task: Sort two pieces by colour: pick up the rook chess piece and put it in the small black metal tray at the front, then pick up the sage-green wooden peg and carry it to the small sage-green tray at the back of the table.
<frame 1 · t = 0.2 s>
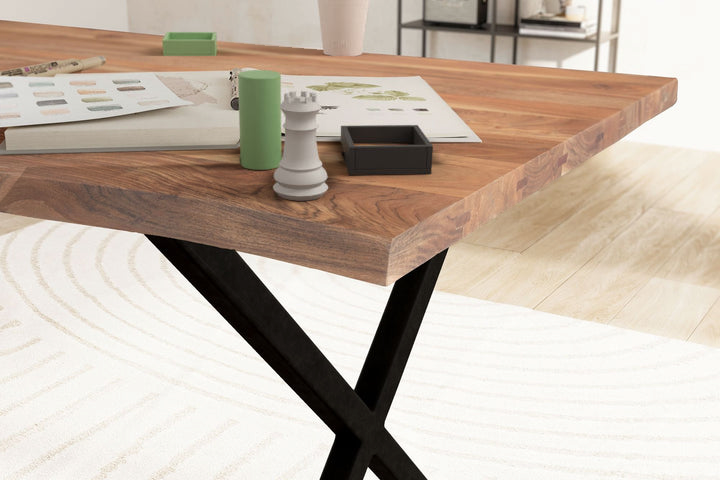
green tray: (191, 53, 127), on the table
green peg: (261, 164, 78), on the table
dark tray: (384, 162, 79), on the table
rook chess piece: (300, 195, 71), on the table
dixie cup: (342, 54, 130), on the table
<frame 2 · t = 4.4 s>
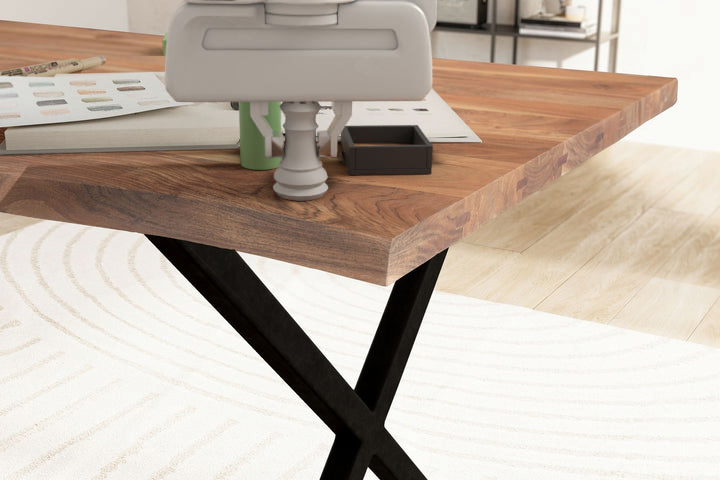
hand: (300, 155, 70), 3 cm above the table, tool pointing down, fingers closed on rook chess piece, 3 cm apart
rook chess piece: (300, 195, 71), on the table, touching gripper
everything else where it was.
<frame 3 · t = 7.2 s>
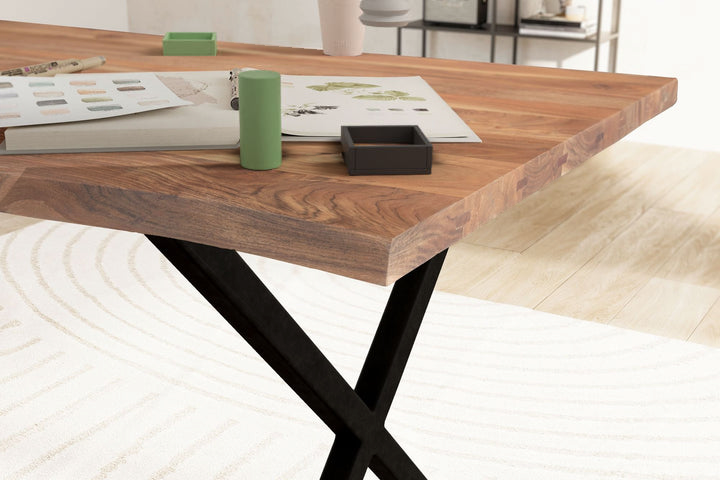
rook chess piece: (384, 26, 74), point 12 cm above the table, touching gripper
everything else where it was.
when the fingers open (3 cm above the table, at t = 10.1 s): rook chess piece stays where it is, resting on dark tray.
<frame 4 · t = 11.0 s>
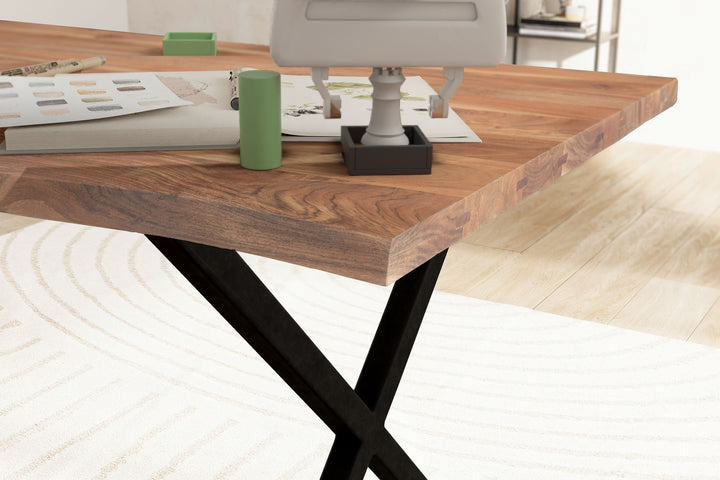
hand: (385, 117, 78), 4 cm above the table, tool pointing down, fingers open, 8 cm apart
rook chess piece: (384, 159, 79), resting on dark tray
everything else where it was.
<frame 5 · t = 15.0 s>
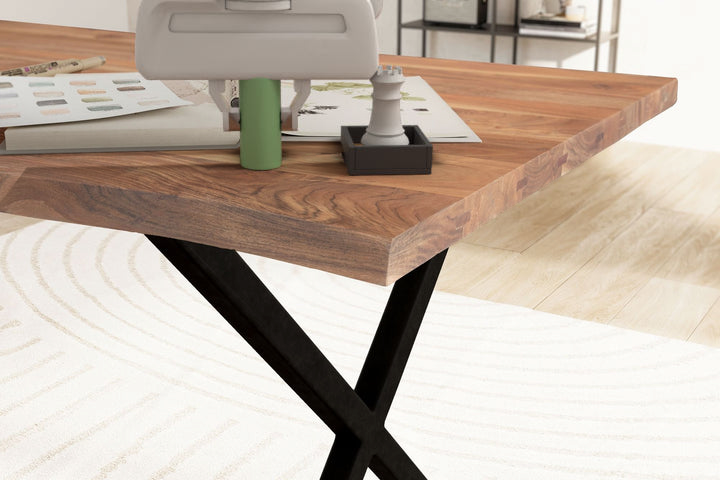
hand: (260, 129, 77), 3 cm above the table, tool pointing down, fingers closed on green peg, 3 cm apart
green peg: (261, 164, 78), on the table, touching gripper
everything else where it was.
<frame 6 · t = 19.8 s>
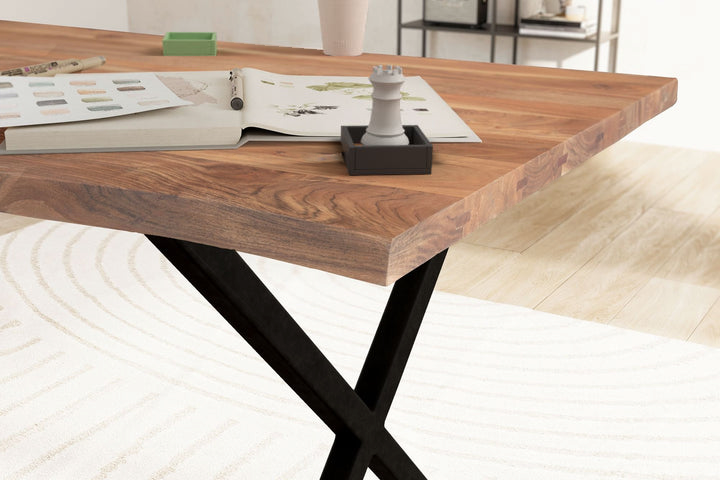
when the fingers open (4 cm above the table, at t = 24.5 s): green peg stays where it is, resting on green tray.
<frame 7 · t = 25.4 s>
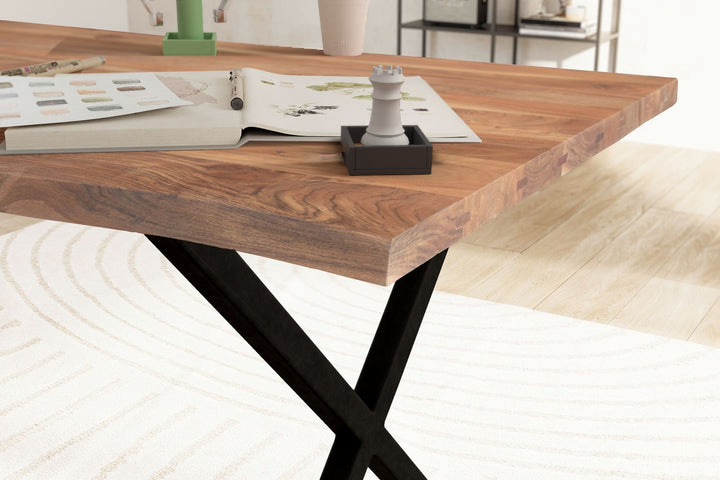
hand: (188, 24, 125), 4 cm above the table, tool pointing down, fingers open, 8 cm apart
green peg: (191, 50, 127), resting on green tray
everything else where it was.
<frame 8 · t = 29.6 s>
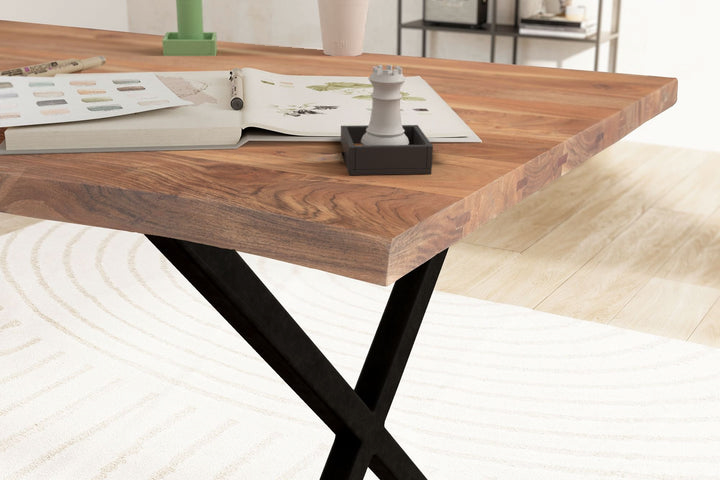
nothing on the table moved.
at the end: rook chess piece 0.0 cm off-centre in the dark tray, point 0.3 cm above the dark tray's base; green peg 0.1 cm off-centre in the green tray, point 0.5 cm above the green tray's base; rook chess piece tilted 0° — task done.
